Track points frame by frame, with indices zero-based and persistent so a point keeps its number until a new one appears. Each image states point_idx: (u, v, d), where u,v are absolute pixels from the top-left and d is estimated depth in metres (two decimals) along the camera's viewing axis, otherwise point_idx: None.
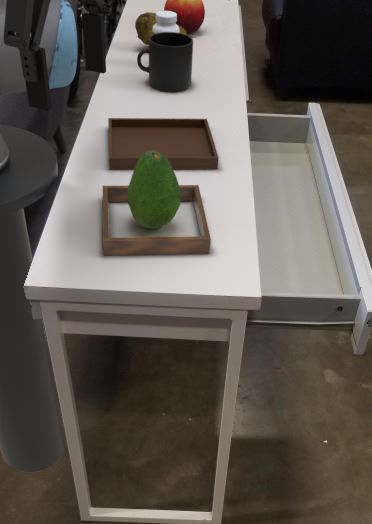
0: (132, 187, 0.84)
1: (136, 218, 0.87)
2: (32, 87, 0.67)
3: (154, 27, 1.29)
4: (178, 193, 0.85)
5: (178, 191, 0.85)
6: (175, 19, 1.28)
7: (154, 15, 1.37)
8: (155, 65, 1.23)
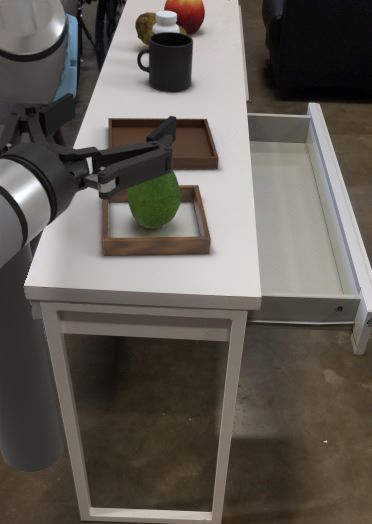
0: (132, 187, 0.84)
1: (136, 218, 0.87)
2: None
3: (154, 27, 1.29)
4: (178, 193, 0.85)
5: (178, 191, 0.85)
6: (175, 19, 1.28)
7: (154, 15, 1.37)
8: (155, 65, 1.23)
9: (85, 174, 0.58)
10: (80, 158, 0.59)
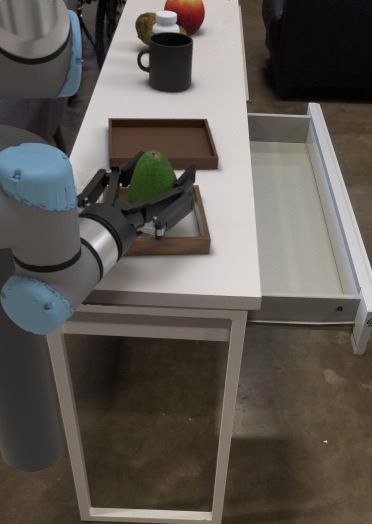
0: (132, 187, 0.84)
1: None
2: None
3: (154, 27, 1.29)
4: None
5: None
6: (175, 19, 1.28)
7: (154, 15, 1.37)
8: (155, 65, 1.23)
9: (143, 224, 0.75)
10: (136, 210, 0.77)
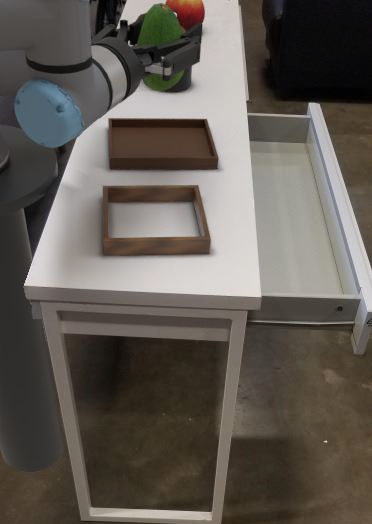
0: (140, 42, 0.86)
1: None
2: None
3: None
4: None
5: None
6: None
7: None
8: None
9: (151, 63, 0.78)
10: (145, 52, 0.79)
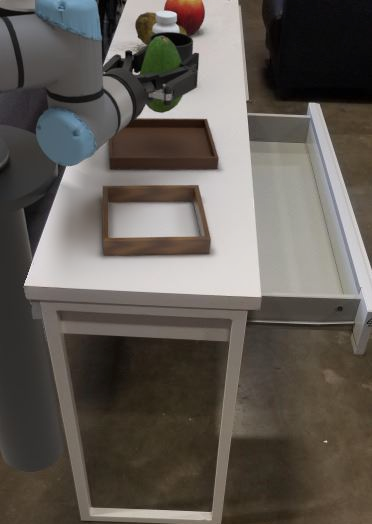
0: (143, 69, 0.96)
1: None
2: None
3: (154, 27, 1.29)
4: None
5: None
6: (175, 19, 1.28)
7: (154, 15, 1.37)
8: None
9: (154, 90, 0.88)
10: (148, 80, 0.89)
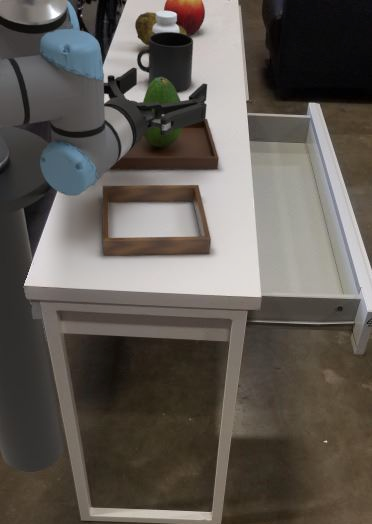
0: None
1: (147, 137, 1.04)
2: None
3: (154, 27, 1.29)
4: None
5: None
6: (175, 19, 1.28)
7: (154, 15, 1.37)
8: (155, 65, 1.23)
9: (152, 118, 0.91)
10: (148, 109, 0.92)
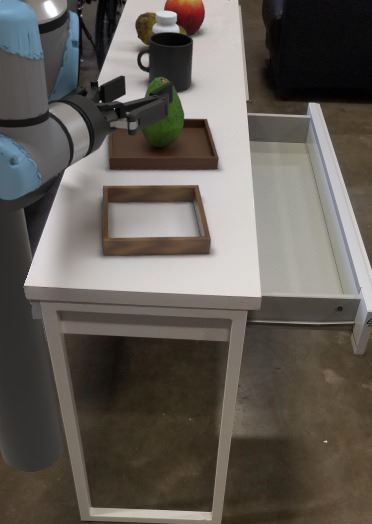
0: None
1: (147, 137, 1.04)
2: None
3: (154, 27, 1.29)
4: (182, 115, 1.02)
5: (181, 113, 1.02)
6: (175, 19, 1.28)
7: (154, 15, 1.37)
8: (155, 65, 1.23)
9: (116, 118, 0.78)
10: (110, 108, 0.80)
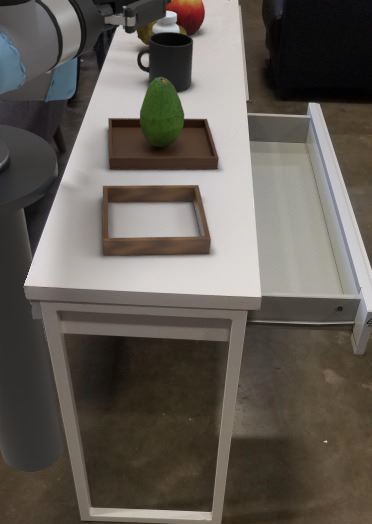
0: (143, 108, 1.01)
1: (147, 137, 1.04)
2: None
3: (154, 27, 1.29)
4: (182, 115, 1.02)
5: (181, 113, 1.02)
6: (175, 19, 1.28)
7: None
8: (155, 65, 1.23)
9: (112, 13, 0.70)
10: (105, 2, 0.71)
